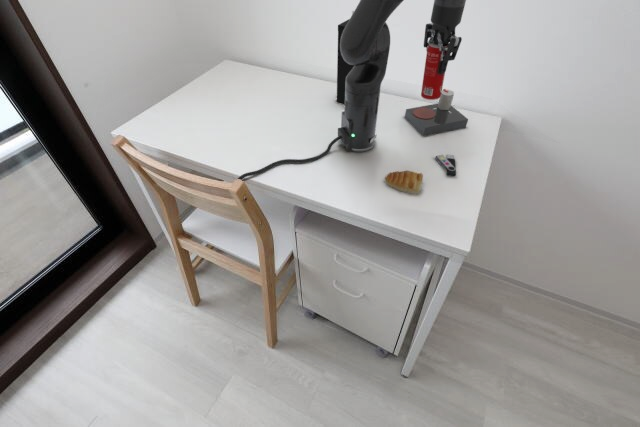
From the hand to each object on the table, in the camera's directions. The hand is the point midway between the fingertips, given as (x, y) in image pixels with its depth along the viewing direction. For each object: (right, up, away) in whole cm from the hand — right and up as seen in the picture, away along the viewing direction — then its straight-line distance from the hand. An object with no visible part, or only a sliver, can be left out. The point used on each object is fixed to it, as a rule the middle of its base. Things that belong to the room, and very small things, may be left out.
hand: (434, 69), depth 97 cm
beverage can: (0, -6, +6) cm, 8 cm away
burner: (0, -10, +10) cm, 14 cm away
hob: (+4, -12, +12) cm, 17 cm away
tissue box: (-22, -1, +24) cm, 32 cm away
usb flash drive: (+1, -28, -4) cm, 29 cm away
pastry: (-11, -34, -10) cm, 37 cm away
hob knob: (+7, -7, +13) cm, 16 cm away
